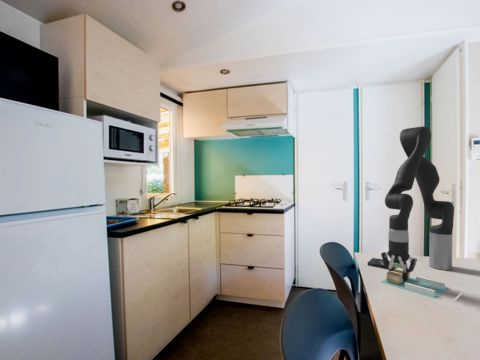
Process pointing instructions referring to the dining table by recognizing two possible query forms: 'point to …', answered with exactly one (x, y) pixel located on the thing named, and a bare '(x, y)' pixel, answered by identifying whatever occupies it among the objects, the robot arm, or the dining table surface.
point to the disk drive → (381, 263)
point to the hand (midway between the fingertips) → (398, 278)
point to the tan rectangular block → (396, 276)
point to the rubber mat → (413, 281)
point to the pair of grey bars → (422, 289)
